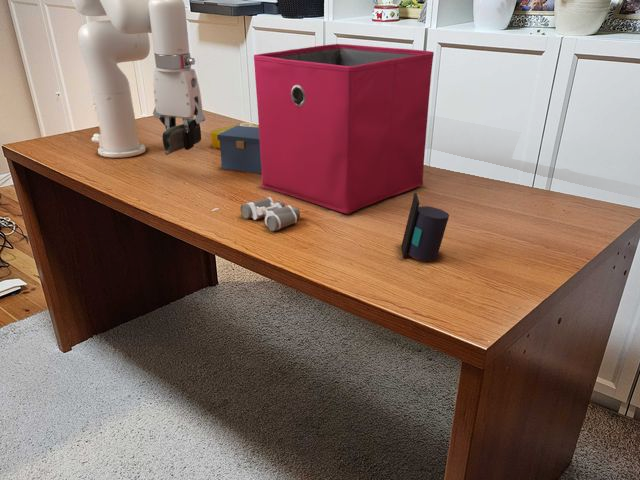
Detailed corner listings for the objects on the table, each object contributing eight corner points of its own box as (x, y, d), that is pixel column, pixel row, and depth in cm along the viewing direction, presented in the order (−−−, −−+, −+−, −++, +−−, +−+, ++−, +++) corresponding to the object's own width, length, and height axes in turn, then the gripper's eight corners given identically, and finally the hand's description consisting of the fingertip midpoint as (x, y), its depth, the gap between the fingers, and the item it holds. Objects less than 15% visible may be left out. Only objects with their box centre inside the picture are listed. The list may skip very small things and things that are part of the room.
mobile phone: (191, 119, 144) (155, 131, 132) (202, 120, 143) (167, 133, 131) (193, 140, 147) (158, 154, 135) (204, 141, 146) (169, 156, 134)
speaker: (392, 257, 105) (403, 200, 100) (401, 246, 110) (412, 191, 104) (433, 268, 103) (447, 211, 98) (441, 257, 108) (454, 202, 102)
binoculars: (240, 216, 122) (239, 199, 120) (271, 207, 127) (270, 191, 125) (276, 233, 115) (275, 216, 113) (307, 223, 119) (307, 206, 117)
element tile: (208, 146, 168) (207, 129, 166) (247, 137, 178) (246, 120, 175) (245, 156, 160) (244, 138, 157) (283, 145, 170) (283, 128, 167)
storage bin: (255, 188, 138) (247, 52, 122) (336, 162, 155) (338, 41, 140) (346, 218, 122) (350, 66, 106) (425, 186, 139) (439, 51, 124)
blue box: (219, 169, 150) (216, 135, 145) (239, 158, 159) (236, 125, 154) (264, 174, 146) (263, 139, 142) (282, 163, 155) (281, 129, 150)
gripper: (214, 62, 131) (220, 147, 141) (150, 57, 135) (161, 139, 145) (197, 67, 125) (204, 155, 135) (131, 61, 129) (143, 147, 140)
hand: (182, 146), depth 140 cm, fingers closed on mobile phone, 3 cm apart
